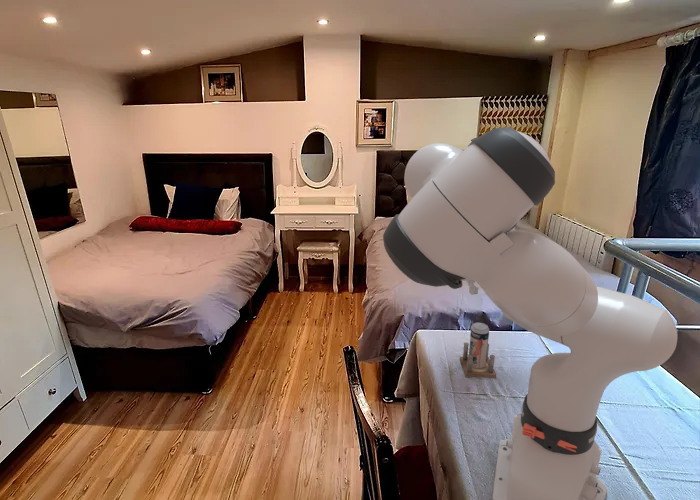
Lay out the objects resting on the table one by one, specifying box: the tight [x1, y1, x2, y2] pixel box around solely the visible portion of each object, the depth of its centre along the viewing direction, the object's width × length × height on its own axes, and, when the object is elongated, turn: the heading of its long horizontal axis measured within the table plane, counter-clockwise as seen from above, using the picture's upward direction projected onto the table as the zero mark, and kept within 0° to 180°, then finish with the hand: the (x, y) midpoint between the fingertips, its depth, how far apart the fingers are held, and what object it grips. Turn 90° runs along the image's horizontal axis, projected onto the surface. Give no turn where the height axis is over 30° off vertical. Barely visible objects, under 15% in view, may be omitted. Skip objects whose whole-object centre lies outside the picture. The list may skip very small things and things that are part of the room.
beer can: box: [468, 322, 490, 368], centre depth 101 cm, size 5×5×12 cm
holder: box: [459, 342, 498, 379], centre depth 102 cm, size 8×8×6 cm
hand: (489, 290), depth 96 cm, fingers open, 8 cm apart
